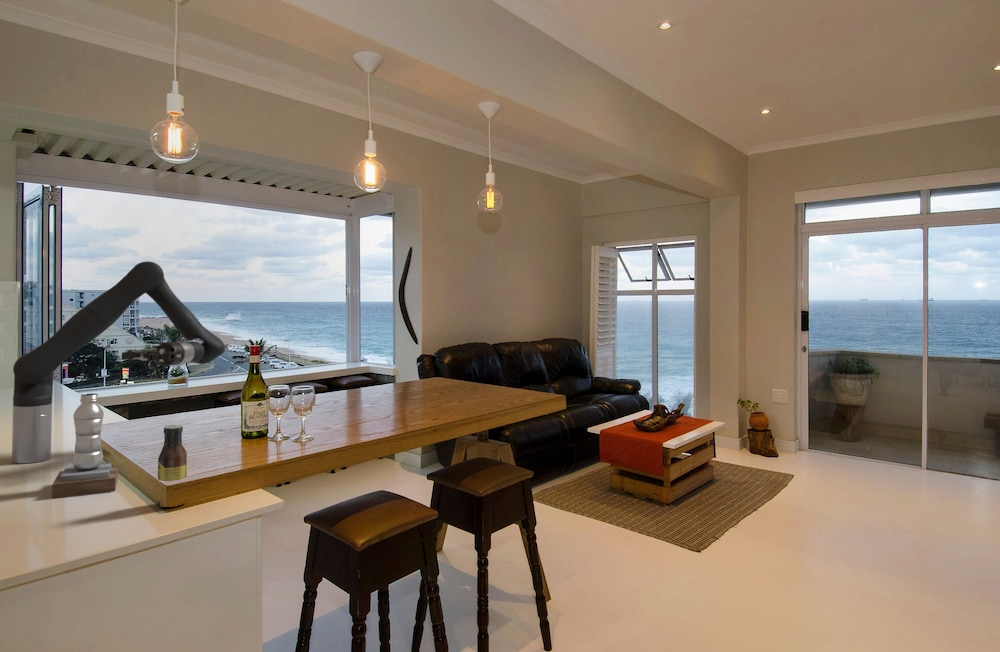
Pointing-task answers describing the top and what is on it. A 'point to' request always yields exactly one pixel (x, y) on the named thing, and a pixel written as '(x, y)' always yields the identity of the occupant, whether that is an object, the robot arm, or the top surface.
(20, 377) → the robot arm
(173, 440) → the sauce bottle
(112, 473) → the plinth
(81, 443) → the silver bottle
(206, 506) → the top surface
